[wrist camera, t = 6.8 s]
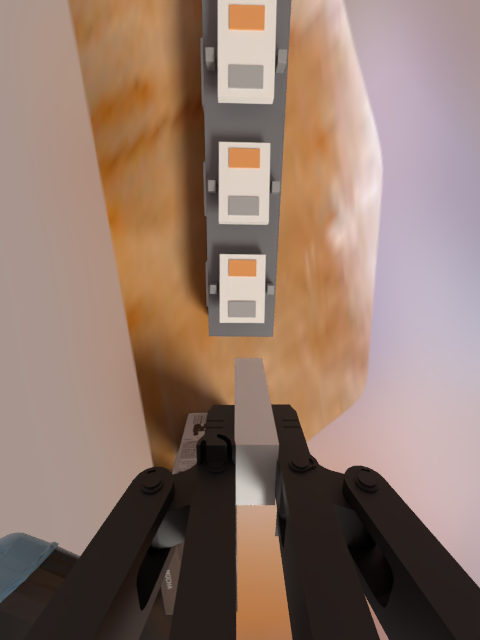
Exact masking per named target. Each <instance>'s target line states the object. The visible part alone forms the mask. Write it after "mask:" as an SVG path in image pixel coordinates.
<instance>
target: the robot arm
mask: <svg viewBox="0 0 480 640" xmlns="http://www.w3.org/2000/svg"><path fill="white" fill-rule="evenodd" d="M196 453H197V463H196V464H195V465H194V466H193V467H191V468H190V469H188V470H185V471H183V472H179V473H176V474H172V473H171V472H170V471H169V470H168V469H166V468H164V467H152V468H149V469H146V470H144V471H143V472H141V473H139V474H138V475H137V477H136V478H135V479H134V480H133V481H132V483H131V484H130V486H129V487H128V488H127V490H126V492H125V493H124V494H123V496H122V497H121V499H120V500H119V502H118V503H117V504H116V506H115V507H114V509H113V510H112V512H111V513H110V515H109V516H108V518H107V519H106V520H105V522H104V523H103V525H102V526H101V527H100V529H99V531H98V532H97V533H96V535H95V536H94V538H93V539H92V541H91V542H90V543H89V545H88V546H87V548H86V549H85V551H84V552H83V554H82V555H81V556H78V555H76V554H74V553H72V552H69V551H67V550H65V549H63V548H61V547H58V543H56V542H52V543H49V542H46V541H44V540H41V539H38V538H36V537H33V536H30V535H28V534H24V533H12V534H9V535H7V536H5V537H3V538H1V539H0V640H236V505H275V497H276V504H277V519H276V533H275V536H279V542H280V550H281V557H282V565H283V572H284V580H285V587H286V595H287V601H288V609H289V617H290V623H291V631H292V639H293V640H380V638H379V636H378V633H377V630H376V627H375V624H374V621H373V618H372V616H371V612H370V610H369V607H368V604H367V601H366V598H367V600H368V602H369V604H370V605H371V607H372V609H373V611H374V612H375V615H376V616H377V618H378V620H379V622H380V624H381V626H382V628H383V629H384V631H385V633H386V635H387V637H388V639H389V640H480V588H479V587H478V586H477V584H476V583H475V582H474V581H473V580H472V579H471V578H470V577H469V576H468V574H467V573H466V572H465V571H464V570H463V568H462V567H461V566H460V565H459V564H458V563H457V562H456V560H455V559H454V558H453V557H452V556H451V555H450V553H449V552H448V551H447V550H446V549H445V548H444V547H443V546H442V544H441V543H440V542H439V541H438V540H437V539H436V537H435V536H434V535H433V534H432V533H431V532H430V531H429V530H428V528H427V527H426V526H425V525H424V524H423V523H422V521H421V520H420V519H419V518H418V517H417V516H416V515H415V513H414V512H413V511H412V510H411V509H410V508H409V506H408V505H407V504H406V503H405V502H404V501H403V500H402V498H401V497H400V496H399V495H398V494H397V493H396V492H395V490H394V489H393V488H392V487H391V486H390V485H389V484H388V482H387V481H386V480H385V479H384V478H383V477H382V476H381V475H380V474H379V473H377V472H376V471H374V470H372V469H370V468H368V467H364V466H352V467H350V468H348V469H347V471H346V472H345V474H342V473H339V472H335V471H331V470H328V469H326V468H324V467H322V466H320V465H319V464H318V462H317V460H316V459H315V458H314V457H313V456H312V455H310V452H309V449H308V447H307V443H306V440H305V437H304V434H303V431H302V428H301V425H300V422H299V419H298V416H297V413H296V411H295V410H294V409H293V408H292V407H291V406H290V405H271V402H270V397H269V392H268V386H267V381H266V376H265V371H264V366H263V361H262V358H235V405H213V406H212V407H211V409H210V410H209V411H208V414H207V420H206V427H205V433H204V435H203V436H202V437H201V438H200V439H199V440H198V442H197V445H196ZM182 542H184V548H183V555H182V561H181V567H180V573H179V579H178V585H177V592H176V598H175V604H174V610H173V614H165V609H164V604H163V598H162V591H161V584H162V582H163V579H164V577H165V574H166V572H167V569H168V567H169V565H170V562H171V560H172V557H173V555H174V552H175V550H176V547H177V544H180V543H182ZM364 594H365V595H364ZM365 596H366V598H365Z"/></svg>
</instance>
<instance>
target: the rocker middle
mask: <svg viewBox="0 0 480 640" xmlns="http://www.w3.org/2000/svg"><path fill="white" fill-rule="evenodd" d="M269 187H270V143H249V142H219V224H249V225H268V223H269Z"/></svg>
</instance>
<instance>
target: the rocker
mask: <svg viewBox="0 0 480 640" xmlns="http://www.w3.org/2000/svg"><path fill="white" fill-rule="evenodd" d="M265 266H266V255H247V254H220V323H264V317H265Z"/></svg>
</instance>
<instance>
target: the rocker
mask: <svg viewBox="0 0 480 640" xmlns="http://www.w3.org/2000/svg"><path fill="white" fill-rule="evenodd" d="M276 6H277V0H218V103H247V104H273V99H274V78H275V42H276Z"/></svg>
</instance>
